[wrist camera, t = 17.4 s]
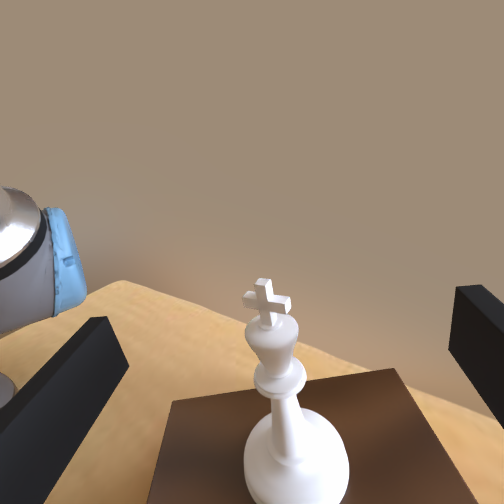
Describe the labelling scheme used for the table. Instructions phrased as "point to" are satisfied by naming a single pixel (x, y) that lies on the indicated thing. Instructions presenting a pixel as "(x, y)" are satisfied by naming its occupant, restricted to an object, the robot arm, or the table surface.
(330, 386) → the step shelf
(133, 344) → the table surface
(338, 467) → the chess piece
